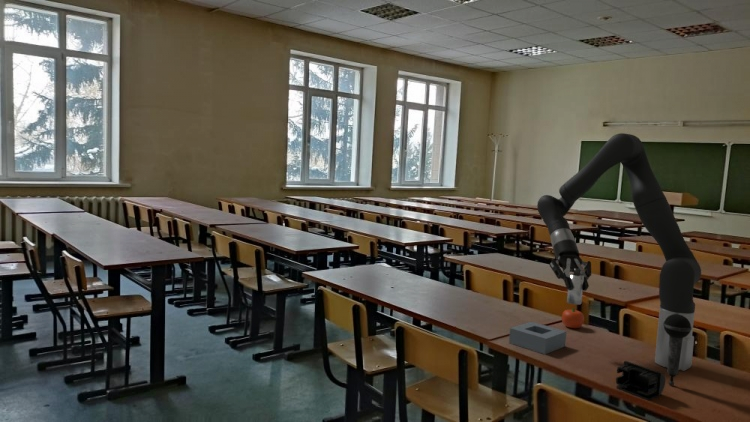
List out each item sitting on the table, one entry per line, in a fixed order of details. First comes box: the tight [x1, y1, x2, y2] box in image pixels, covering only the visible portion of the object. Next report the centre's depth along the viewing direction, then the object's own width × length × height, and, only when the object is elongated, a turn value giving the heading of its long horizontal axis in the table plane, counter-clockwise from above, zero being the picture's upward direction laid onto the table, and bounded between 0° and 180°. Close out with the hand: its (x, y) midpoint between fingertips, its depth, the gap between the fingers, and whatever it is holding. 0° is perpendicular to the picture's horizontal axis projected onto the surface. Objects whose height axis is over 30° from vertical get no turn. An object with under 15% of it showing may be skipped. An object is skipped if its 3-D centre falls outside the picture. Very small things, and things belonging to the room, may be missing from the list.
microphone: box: [663, 314, 692, 387], centre depth 150 cm, size 7×7×20 cm
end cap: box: [615, 360, 666, 401], centre depth 145 cm, size 10×7×7 cm
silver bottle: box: [566, 268, 584, 306], centre depth 175 cm, size 4×4×11 cm
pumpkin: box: [561, 307, 585, 329], centre depth 202 cm, size 8×8×7 cm
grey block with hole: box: [508, 321, 567, 355], centre depth 180 cm, size 13×13×5 cm
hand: (578, 289), depth 173 cm, fingers closed on silver bottle, 4 cm apart
